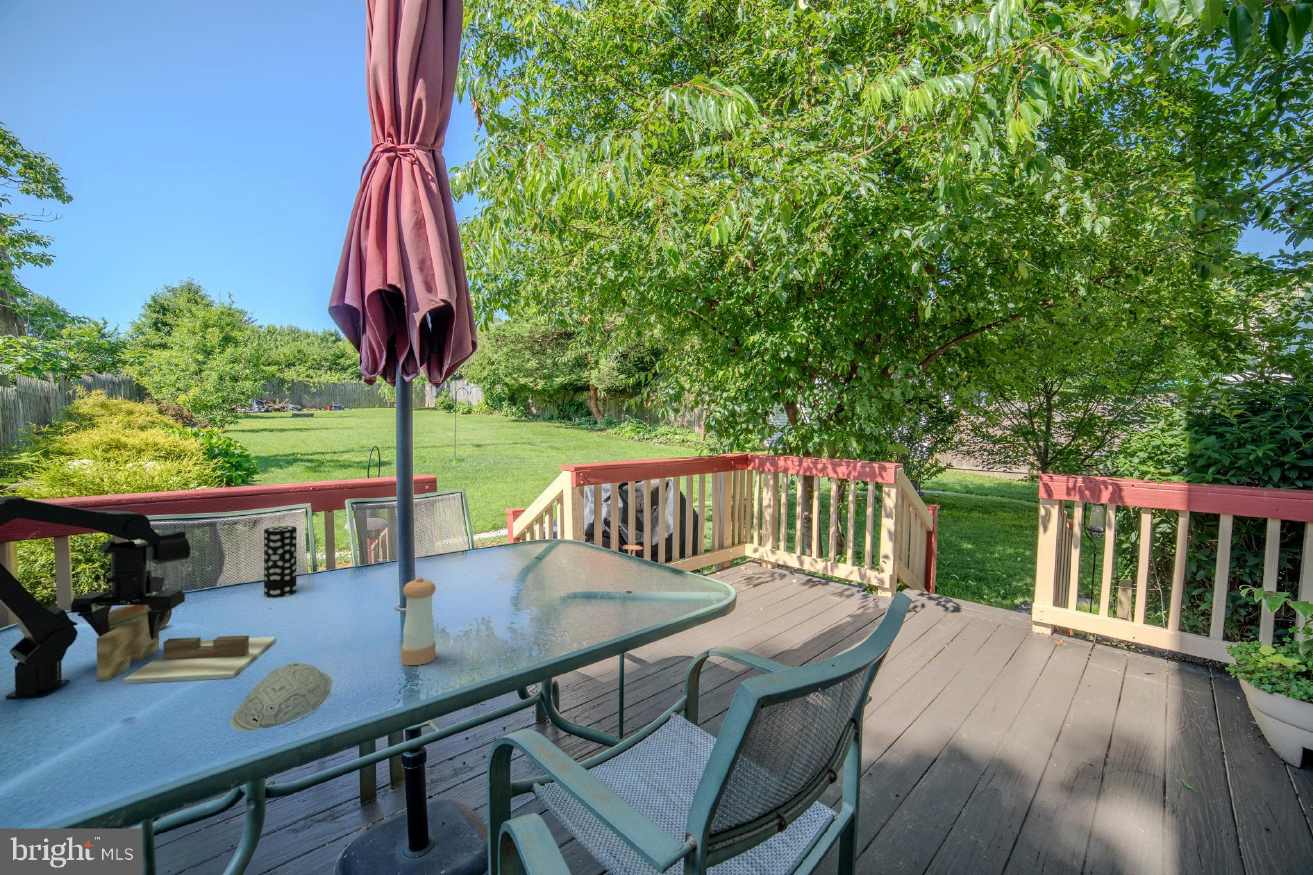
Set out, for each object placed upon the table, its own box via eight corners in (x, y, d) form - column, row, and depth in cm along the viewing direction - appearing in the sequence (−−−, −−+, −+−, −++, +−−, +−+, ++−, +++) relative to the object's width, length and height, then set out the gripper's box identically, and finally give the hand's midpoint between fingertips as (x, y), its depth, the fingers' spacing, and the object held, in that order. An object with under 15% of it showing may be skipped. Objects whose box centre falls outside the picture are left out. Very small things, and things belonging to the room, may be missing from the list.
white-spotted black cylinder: (301, 592, 178) (301, 528, 178) (272, 599, 171) (272, 532, 170) (288, 587, 183) (288, 524, 182) (258, 594, 176) (258, 529, 175)
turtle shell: (210, 738, 100) (215, 698, 100) (264, 680, 124) (268, 648, 124) (310, 735, 104) (315, 698, 104) (343, 680, 128) (347, 649, 128)
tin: (107, 649, 134) (106, 613, 134) (96, 647, 135) (96, 612, 135) (173, 626, 149) (172, 594, 149) (163, 625, 150) (163, 593, 149)
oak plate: (108, 680, 119) (108, 637, 119) (97, 681, 119) (96, 638, 119) (159, 649, 135) (158, 611, 135) (149, 649, 135) (149, 611, 134)
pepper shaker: (402, 654, 136) (403, 574, 135) (435, 651, 138) (436, 572, 138) (400, 667, 129) (401, 583, 128) (435, 663, 132) (436, 580, 131)
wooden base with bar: (233, 678, 122) (233, 654, 122) (123, 683, 118) (123, 659, 118) (276, 640, 142) (276, 620, 141) (183, 644, 138) (183, 624, 138)
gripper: (199, 559, 136) (199, 624, 136) (107, 560, 132) (107, 627, 133) (168, 572, 125) (169, 643, 126) (67, 574, 121) (68, 647, 122)
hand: (129, 639), depth 127 cm, fingers open, 9 cm apart
